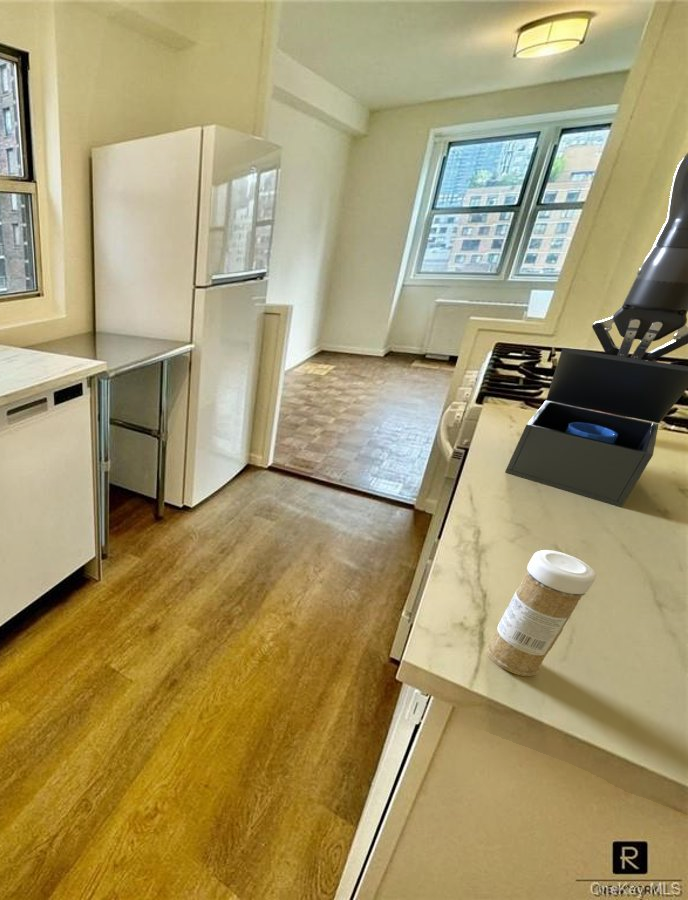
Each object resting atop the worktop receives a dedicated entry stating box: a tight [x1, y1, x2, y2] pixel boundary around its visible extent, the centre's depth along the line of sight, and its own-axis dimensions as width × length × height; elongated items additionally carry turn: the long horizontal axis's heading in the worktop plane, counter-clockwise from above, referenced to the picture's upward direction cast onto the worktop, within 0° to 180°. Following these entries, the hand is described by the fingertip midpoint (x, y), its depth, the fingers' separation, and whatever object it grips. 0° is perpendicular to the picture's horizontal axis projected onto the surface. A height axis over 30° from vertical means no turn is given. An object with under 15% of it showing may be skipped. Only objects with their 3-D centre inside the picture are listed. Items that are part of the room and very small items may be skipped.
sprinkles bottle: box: [485, 549, 597, 677], centre depth 49 cm, size 5×5×14 cm
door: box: [545, 347, 688, 424], centre depth 84 cm, size 20×16×1 cm
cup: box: [565, 422, 618, 444], centre depth 88 cm, size 6×6×8 cm
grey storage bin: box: [504, 400, 660, 508], centre depth 88 cm, size 19×16×10 cm
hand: (617, 379), depth 86 cm, fingers closed
